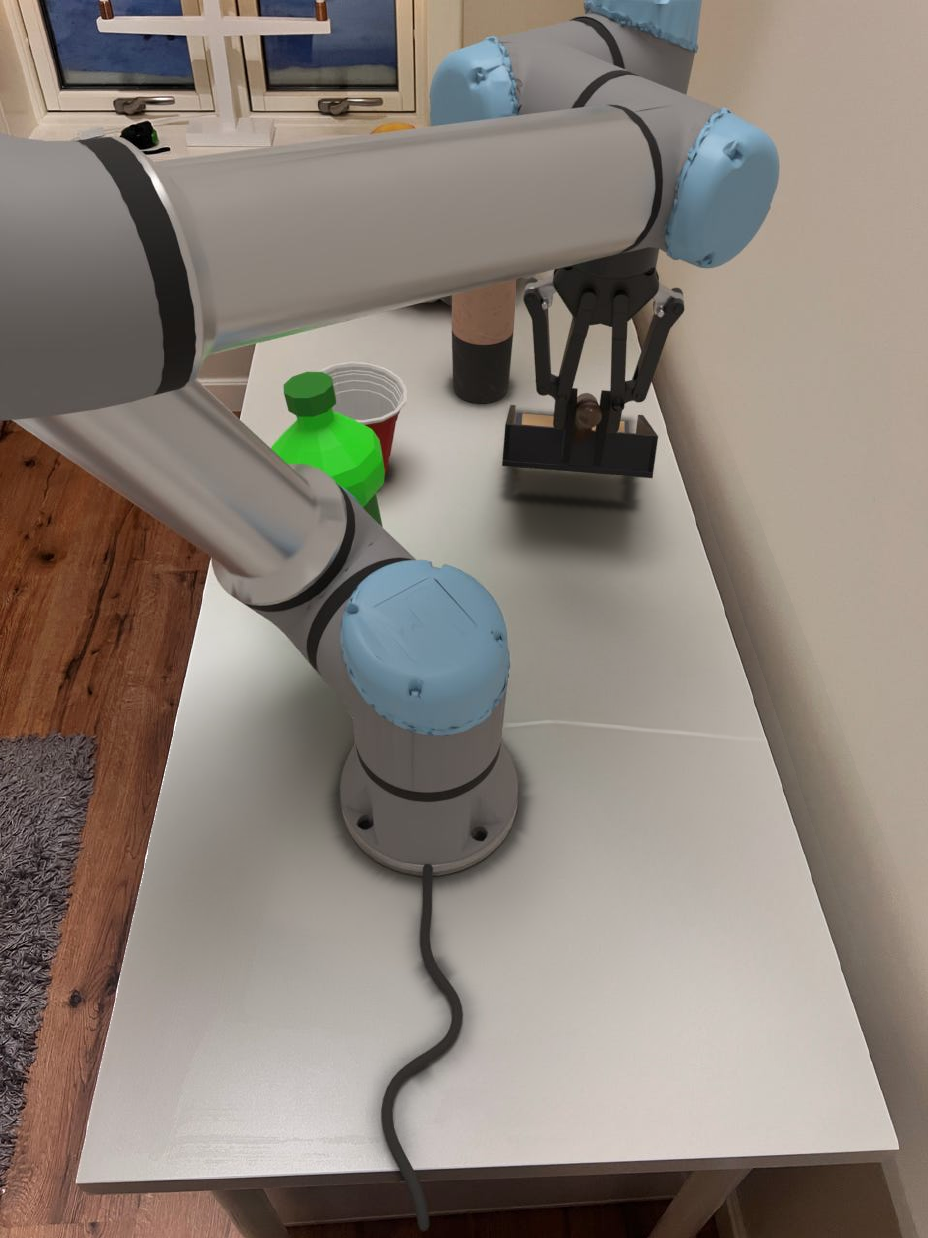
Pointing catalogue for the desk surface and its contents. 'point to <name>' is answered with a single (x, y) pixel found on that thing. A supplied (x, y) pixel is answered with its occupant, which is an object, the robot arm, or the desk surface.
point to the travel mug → (483, 341)
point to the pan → (581, 445)
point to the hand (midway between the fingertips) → (581, 455)
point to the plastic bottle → (331, 440)
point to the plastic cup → (369, 398)
